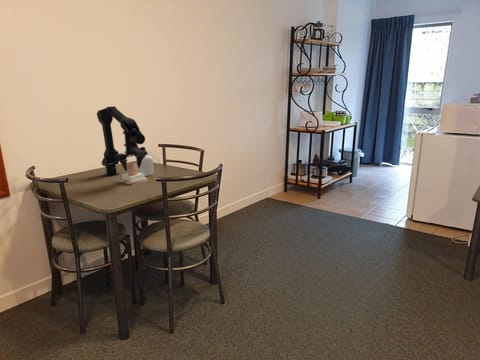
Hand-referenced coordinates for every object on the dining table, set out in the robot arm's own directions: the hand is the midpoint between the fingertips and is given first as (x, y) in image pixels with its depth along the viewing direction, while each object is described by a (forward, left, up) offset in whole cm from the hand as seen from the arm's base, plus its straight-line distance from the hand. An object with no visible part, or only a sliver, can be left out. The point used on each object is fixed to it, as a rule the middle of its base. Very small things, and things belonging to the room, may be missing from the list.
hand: (132, 169), depth 207 cm
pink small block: (0, 0, -3) cm, 3 cm away
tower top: (0, 0, -6) cm, 6 cm away
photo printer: (-5, +13, -8) cm, 16 cm away
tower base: (0, 0, -8) cm, 8 cm away
